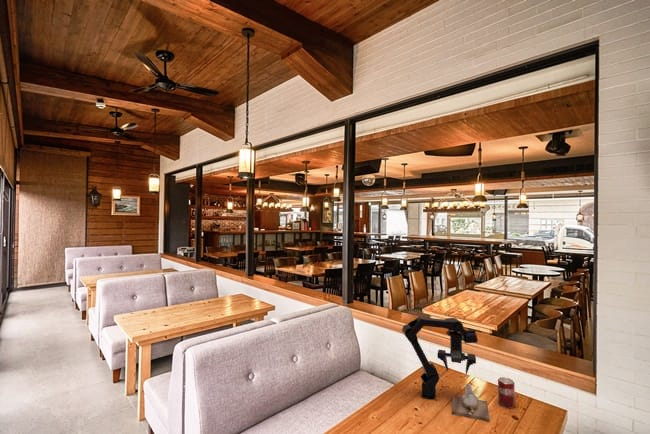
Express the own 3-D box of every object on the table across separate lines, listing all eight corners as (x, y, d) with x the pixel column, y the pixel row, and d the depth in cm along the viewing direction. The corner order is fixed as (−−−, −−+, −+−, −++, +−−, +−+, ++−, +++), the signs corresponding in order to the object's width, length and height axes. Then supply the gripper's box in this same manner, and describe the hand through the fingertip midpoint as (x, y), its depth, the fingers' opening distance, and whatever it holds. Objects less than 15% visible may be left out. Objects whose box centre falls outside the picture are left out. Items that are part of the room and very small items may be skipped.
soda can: (517, 409, 156) (516, 384, 156) (501, 407, 157) (500, 383, 157) (511, 401, 163) (511, 377, 163) (496, 399, 164) (495, 376, 165)
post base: (452, 414, 153) (452, 410, 153) (452, 397, 167) (452, 394, 167) (489, 421, 147) (489, 418, 147) (487, 404, 161) (487, 400, 161)
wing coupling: (460, 398, 163) (460, 383, 163) (475, 400, 161) (475, 384, 161) (464, 412, 151) (464, 395, 151) (480, 414, 150) (480, 397, 150)
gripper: (436, 346, 166) (437, 376, 166) (476, 351, 158) (476, 383, 158) (437, 338, 176) (438, 367, 176) (475, 343, 169) (475, 372, 168)
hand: (456, 372), depth 169 cm, fingers open, 9 cm apart
